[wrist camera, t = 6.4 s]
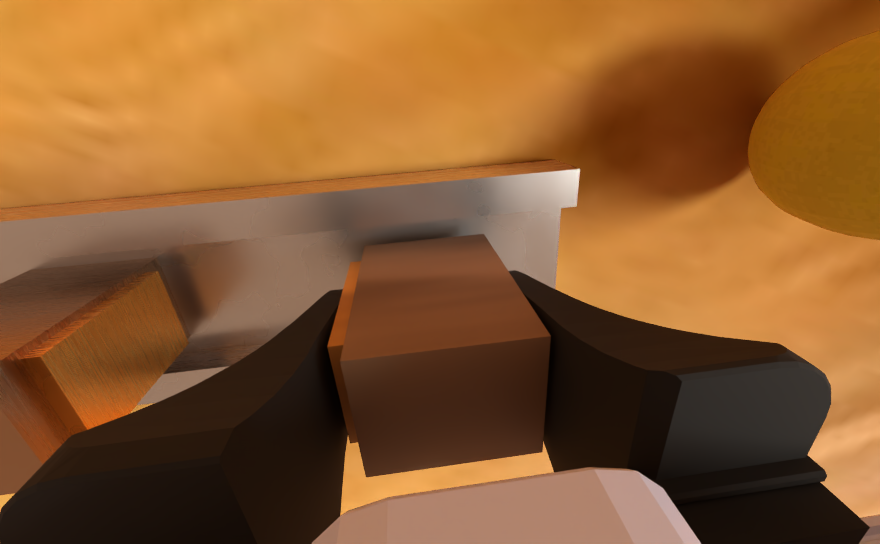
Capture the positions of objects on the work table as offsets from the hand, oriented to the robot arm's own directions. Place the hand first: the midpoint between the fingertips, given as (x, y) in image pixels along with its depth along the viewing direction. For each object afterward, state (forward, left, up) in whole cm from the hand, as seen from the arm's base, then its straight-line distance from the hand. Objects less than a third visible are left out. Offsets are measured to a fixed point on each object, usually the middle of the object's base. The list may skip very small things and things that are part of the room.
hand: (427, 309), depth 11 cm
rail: (0, +6, -3) cm, 7 cm away
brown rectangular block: (0, 0, -2) cm, 2 cm away
